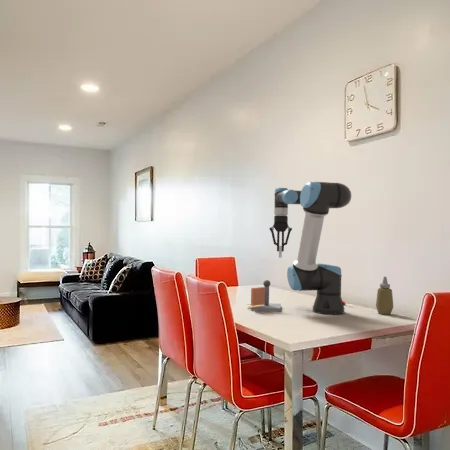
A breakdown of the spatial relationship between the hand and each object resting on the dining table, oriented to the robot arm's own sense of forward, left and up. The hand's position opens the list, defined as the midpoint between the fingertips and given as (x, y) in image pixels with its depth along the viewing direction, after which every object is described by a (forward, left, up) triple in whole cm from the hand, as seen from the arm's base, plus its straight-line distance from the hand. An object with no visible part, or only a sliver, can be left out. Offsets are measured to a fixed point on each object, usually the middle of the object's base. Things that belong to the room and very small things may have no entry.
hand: (280, 257), depth 241 cm
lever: (-21, +22, -23) cm, 38 cm away
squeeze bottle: (-47, -32, -25) cm, 62 cm away
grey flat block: (-18, +19, -24) cm, 36 cm away
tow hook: (-15, -28, -25) cm, 40 cm away
